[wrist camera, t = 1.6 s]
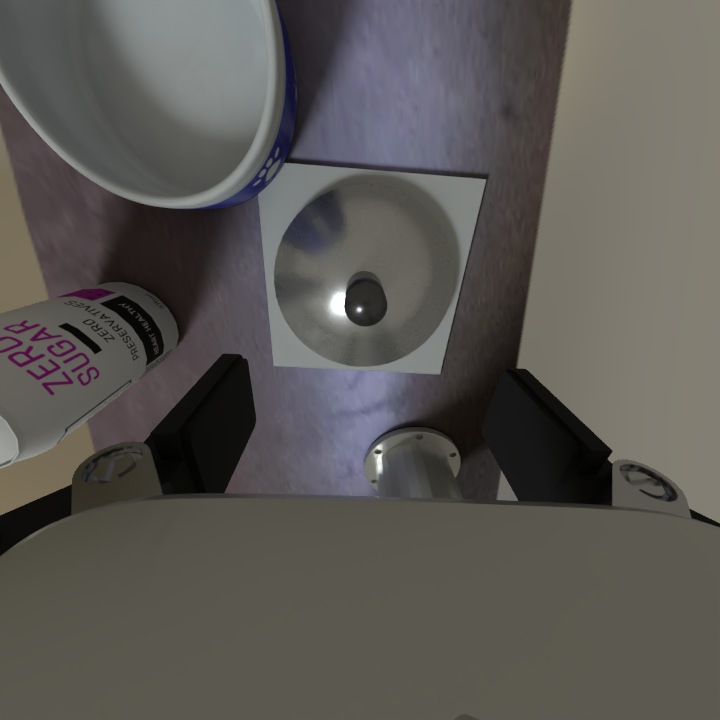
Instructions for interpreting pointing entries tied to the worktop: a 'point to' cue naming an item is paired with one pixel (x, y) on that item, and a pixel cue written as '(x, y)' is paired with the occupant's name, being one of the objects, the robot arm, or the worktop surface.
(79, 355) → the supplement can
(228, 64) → the dog bowl
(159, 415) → the worktop surface
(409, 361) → the mat
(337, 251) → the lid
